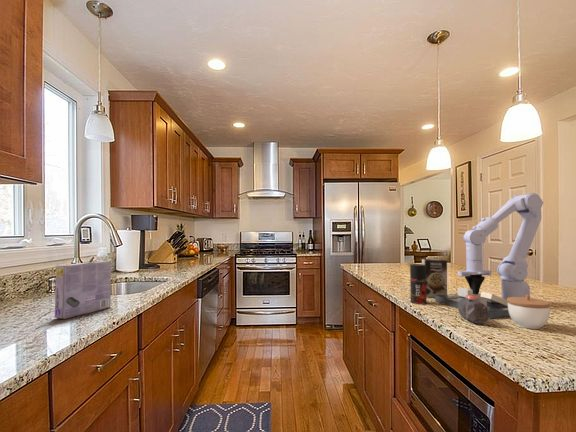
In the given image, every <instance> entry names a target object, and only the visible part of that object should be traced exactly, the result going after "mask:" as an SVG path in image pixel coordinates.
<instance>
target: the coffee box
mask: <svg viewBox="0 0 576 432" xmlns="http://www.w3.org/2000/svg"><path fill="white" fill-rule="evenodd" d="M421 264H423V265H426V298H432V299H434V298H435V295H448V261H447V260H446V259H443V258H442V259H440V258H439V259H438V258H437V259H436V258H421Z"/></svg>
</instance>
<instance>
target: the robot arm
mask: <svg viewBox="0 0 576 432" xmlns="http://www.w3.org/2000/svg"><path fill="white" fill-rule="evenodd" d="M543 204H544V202H543V199H542V198H541V196H540V195H539V194H537V193H535V192H531V193H526V194H516V195H513V196H512V197H511V198H510V199H508V200H507V201H506V203H504V204H503V205H502V206H501V207H500V208H499V209H498V210H497V211H496V212H495V213H494V214H493V215H492V216H491V217H489V216H486V217H482V218H481V219H480V221H479V223H477V224H476V225H474V226H472V229H470V230H466V231H465V233H464V235H463V236H462V239H463V242H464V243H465V258H466V259H465V263H466V264H465V265H466V266H465V267H466V270H459V271H457V277H461V278H462V277H463V278H465V280H466V282H467V284H468V285H469V289H471V290H473V294H475V295H477V294H480V293H479V292H480V289H481V286H482V285H483V283H484V281H485V279H486V277H485V276H492V270H491V269H490V270H489V269H484V263H483V262H484V260H483V243H485V242H486V239H487V237H488V236H489V235H491V234H492V233H493V232H494V231H496V229H497V230H498V227H499V223H500V222H502V221H503V220H504V219H506V218H507V217H509V216H510V215H511V214H512V213H514V212H516V214H518V215H519V216H521V218H522V221H521V225H520V227H519V229H518V232H517V234H516V237H515V240H514V242H513V244H512V247H511V249H510V252H509V254H508V255H507V256H505V257H504V258H503V259H502V261H501V262H500V263H499V264H498V266H497V268H496V272H497V275H498V276H500V279H501V280H500V281H501V282H500V283H501V287H500V288H501V298H503V299H506V300H507V298H509V297H526V295H530V296H531V288H530V285H529V283H528V282H527V281H525V280H526V278H527V277H528V268H529V263H528V262H527V261H526V258H527V257H528V254H529V251H530V248H531V246H532V244H533V241H534V238H535V235H536V233H537V231H538V229H539V226H540V223H541V222H542V207H543V206H544V205H543Z"/></svg>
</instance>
